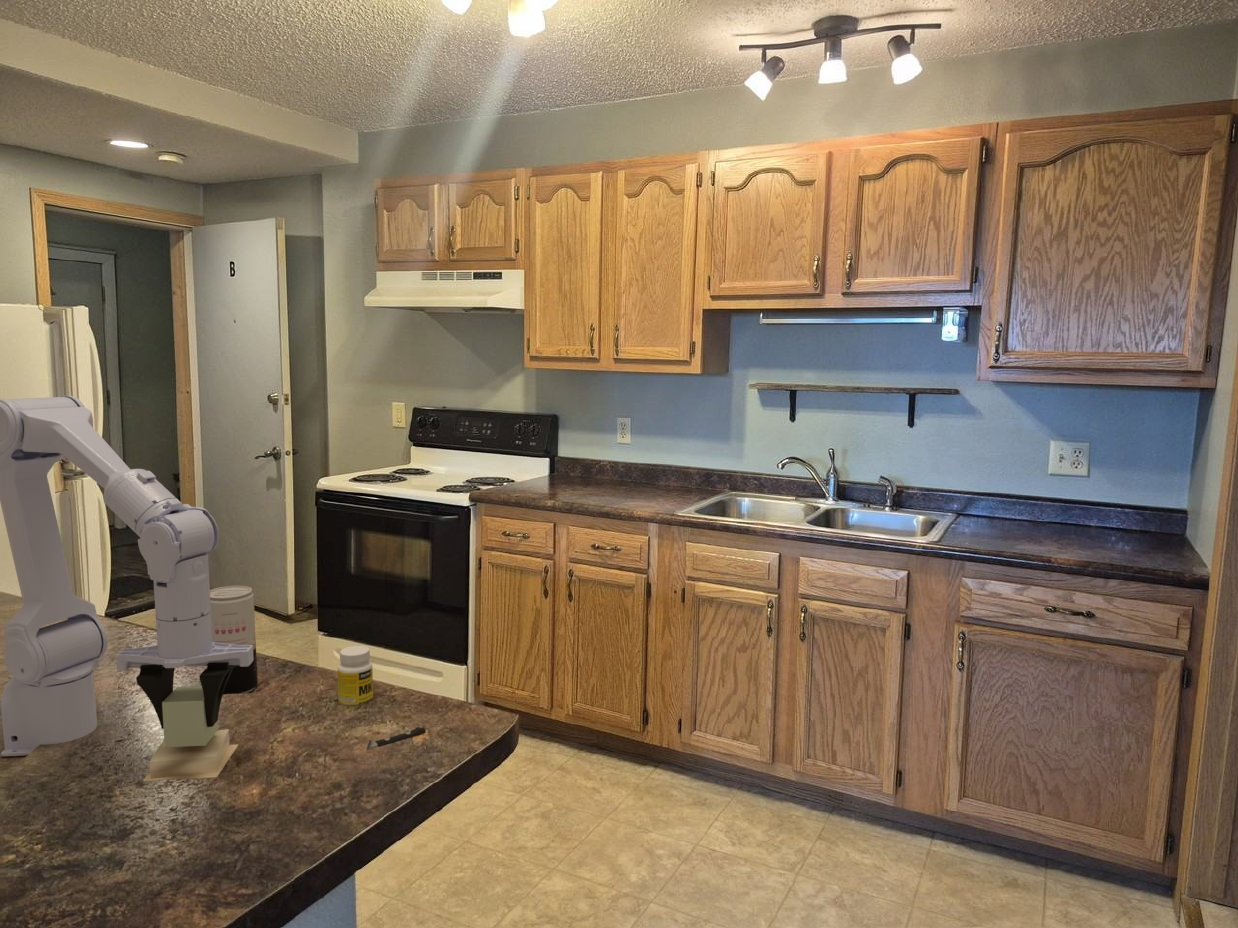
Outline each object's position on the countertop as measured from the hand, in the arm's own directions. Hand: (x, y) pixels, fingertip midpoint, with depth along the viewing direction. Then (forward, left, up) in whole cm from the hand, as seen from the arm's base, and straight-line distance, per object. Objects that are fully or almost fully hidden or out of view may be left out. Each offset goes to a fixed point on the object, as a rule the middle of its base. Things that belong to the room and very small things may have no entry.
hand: (189, 724), depth 99 cm
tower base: (0, 0, -7) cm, 7 cm away
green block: (0, 0, -2) cm, 2 cm away
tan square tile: (0, 0, -5) cm, 5 cm away
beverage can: (-3, +25, -6) cm, 26 cm away
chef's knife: (+18, +4, -7) cm, 20 cm away
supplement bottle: (+16, +17, -6) cm, 24 cm away
